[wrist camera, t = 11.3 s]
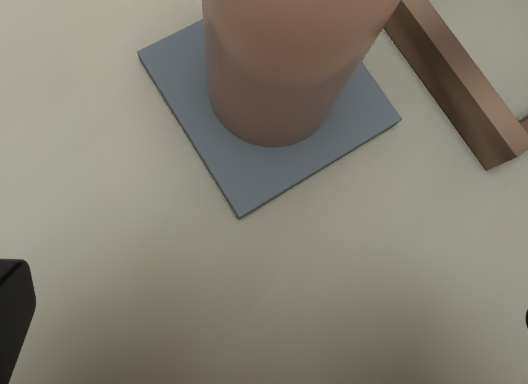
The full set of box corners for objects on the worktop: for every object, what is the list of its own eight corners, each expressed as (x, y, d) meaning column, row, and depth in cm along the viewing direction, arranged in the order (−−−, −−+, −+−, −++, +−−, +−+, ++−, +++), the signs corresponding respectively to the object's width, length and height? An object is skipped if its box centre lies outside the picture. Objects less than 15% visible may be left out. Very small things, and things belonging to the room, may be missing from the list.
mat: (396, 124, 19) (402, 119, 18) (238, 219, 17) (239, 217, 17) (296, -19, 20) (298, -28, 19) (139, 59, 18) (136, 51, 18)
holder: (635, 71, 21) (678, 48, 19) (486, 170, 19) (517, 156, 17) (513, -81, 22) (542, -116, 20) (363, -1, 20) (378, -32, 18)
